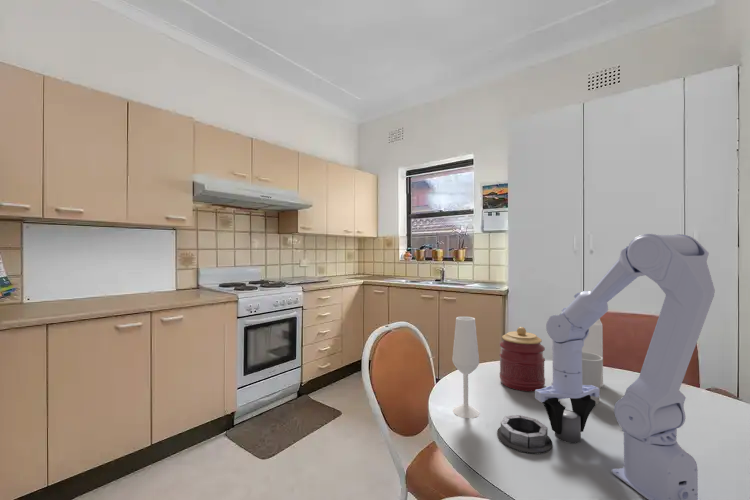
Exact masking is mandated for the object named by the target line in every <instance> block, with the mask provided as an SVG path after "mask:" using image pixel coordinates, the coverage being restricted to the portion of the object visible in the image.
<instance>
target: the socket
mask: <svg viewBox="0 0 750 500" xmlns="http://www.w3.org/2000/svg"><path fill="white" fill-rule="evenodd" d="M548 431H549V430H548V427H547V426H546V425H545V424H543V423H542V422H541V421H540V420H538V419H536V418H533V417H529V416H525V415H522V414H520V415H519V414H515V415H513V414H511V415H505V416H504V417H503V419H502V420H501V421H500V427H498V429H497V430H496V435H497V438H498V440H499V441H500V442H501V443H502V445H504V446H506V447H508V448H510V449H512V450H514V451H515V452H516V451H517V452H520V453H523V454H527V455H528V454H530V455H541V454H546V453H548V452H549V451H551V450H552V448H553V441H552V439H551V438H550V436H549V435H548Z"/></svg>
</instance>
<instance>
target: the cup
mask: <svg viewBox="0 0 750 500" xmlns="http://www.w3.org/2000/svg"><path fill="white" fill-rule="evenodd" d="M602 363H603V364H604V357H603V358H602V357H601V356H599V355H596V354H592V353H587V352H582V385H593V386H595V387H597V388H599V397H594V396H591V399H593V400H594V401H595V402H596V405H598V404H600V399H601V398H600V394H601V392H600V391H601V387H600V383H601V371H602Z"/></svg>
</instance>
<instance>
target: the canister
mask: <svg viewBox="0 0 750 500" xmlns="http://www.w3.org/2000/svg"><path fill="white" fill-rule="evenodd" d="M501 338H502V339H503V340H501V341H500V342H499V344H498V345H499V347H500V352H499V379H500V383H501V384H502V385H503V386H505V387H506V388H509V389H512V390H517V391H520V392H521V391H522V392H535V390H537V389H542V388H545V385H546V377H545V361H546V359H545V357H544V352H545V349H546V347H545V346H544V345H542V344H541V343H542V341H543V340H542V338H540V337H539V336H538V335H536V334H535V333H533V332H527V330H526V328H525V327H523V326H519V327H518V328H517V329H516V330H515V331H508V332H507V333H505V334H503V335H502V336H501Z"/></svg>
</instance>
